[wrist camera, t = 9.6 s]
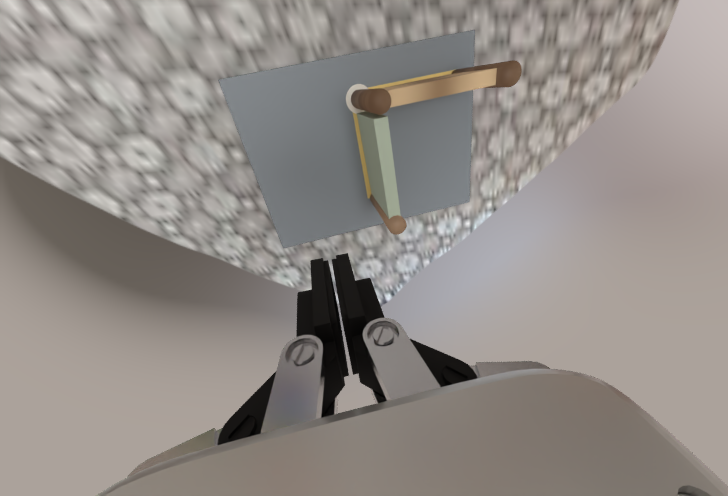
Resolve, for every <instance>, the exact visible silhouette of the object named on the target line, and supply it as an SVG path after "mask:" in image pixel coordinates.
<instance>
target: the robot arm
mask: <svg viewBox="0 0 728 496" xmlns="http://www.w3.org/2000/svg"><path fill="white" fill-rule="evenodd" d="M332 264H333V270H334V275H335V281H336V287H337V293H338V299H339V305H340V310H341V316H342V321H343V326H344V331H345V337H346V342H347V346H348V351H349V356H350V361H351V366H352V371H353V374H358V373H359V378H360V382H361V383H362V384H364V385H366V386H367V387H369V388H371V392H372V395H373V398H374V400H375V402H376V404H374V405H370V406H365V407H362V408H358V409H354V410H350V411H346V412H342V413H338V414H337V405H338V403H337V395H338V394H339V393H340V391H341V390H342V388H343V387H344V386H345V383H344V377H345V376H348V375H349V374H348V368H347V361H346V355H345V349H344V342H343V336H342V330H341V325H340V318H339V312H338V306H337V301H336V296H335V292H334V287H333V282H332V277H331V272H330V267H329V263H328V260H327V261H323V258H321V259H315V260H311V281H312V290H308V291H303V292H298V299H297V337H296V338H294V339H292V340H291V341H290V342H288V343H287V344H286V345H285V347H284V348H283V350H282V353H281V356H280V359H279V364H278V367H277V371H276V372H275V373H274V374H273V375H272V376H271V377H270V378H269V379H268V380H267V381H266V382H265V383H264V384H263V385H262V386H261V387H260V388H259V389H258V390H257V391H256V392H255V393H254V394H253V395H252V396H251V397H250V398H249V399H248V401H246V402H245V404H243V405H242V406H241V408H240V409H239V410H238V411H237V412H236V413H235V414H234V415H233V416H232V417H231V418H230V419H229V420H228V421H227V423H226V424H225V425H224V427H223V428H222V429H219V430H217V431H216V429H215V428H213V429H211V430H209V431H207V432H205V433H203V434H201V435H199V436H197V437H194V438H192V439H190V440H188V441H186V442H184V443H182V444H180V445H178V446H175V447H173V448H171V449H169V450H167V451H165V452H163V453H161V454H159V455H156V456H154V457H152V458H150V459H148V460H146V461H145V462H143V463H142V464H140V465H138V466H137V468H135V469H134V470H133V471H132V472H131V473H130V474H129V475H128V477H127V478H125V479H124V480H121V481H120V482H118V483H116V484H114V485H112V486H111V487H109V488H107V489H106V490H104V491H103V492H101V493H99V494H98V495H96V496H728V486H727V485H726V484H725V483H724V482H723V481H722V480H721V479H720V478H719V477H718V476H717V475H716V474H715V473H713V471H711V470H710V469H709V468H708V467H707V466H706V465H705V464H704V463H703V462H702V461H701V460H700V459H698V458H697V457H696V456H695V455H694V454H693V453H692V452H691V451H690V450H689V449H688V448H686V447H685V446H684V445H683V444H682V443H681V442H680V441H679V440H678V439H676V438H675V436H673V435H672V434H671V433H670V432H669V431H668V430H667V429H666V428H664V427H663V426H662V425H661V424H660V423H659V422H658V421H656V420H655V419H654V418H653V417H652V416H651V415H650V414H648V413H647V412H646V411H645V410H643V409H642V408H641V407H640V406H639V405H637V404H636V403H635V402H634V401H632V400H631V399H630V398H629V397H627V396H626V395H624V394H623V393H622V392H620V391H619V390H618V389H616V388H614V387H613V386H611V385H609V384H608V383H606V382H604V381H602V380H600V379H598V378H595V377H592V376H589V375H586V374H582V373H578V372H573V371H566V370H558V369H550V368H549V367H547V366H545V365H543V364H541V363H538V362H532V361H522V362H476V365H475V366H469V365H468V364H466V363H464V362H463V361H461V360H458V359H456V358H454V357H451V356H449V355H447V354H444V353H442V352H440V351H437V350H435V349H433V348H430V347H428V346H426V345H423V344H421V343H419V342H416V341H414V340H412V339H409V337H408V336H407V334H406V332H405V331H404V329H403V328H402V327H401V325H400V324H399V323H398V322H396V321H395V320H393V319H389V318H384V315H383V312H382V309H381V307H380V304H379V301H378V298H377V295H376V293H375V290H374V287H373V284H372V282H371V279H370V278H366V279H362V280H357V281H355V278H354V275H353V271H352V267H351V264H350V260H349V256H348V253H347V254H342V255H336V259H332Z"/></svg>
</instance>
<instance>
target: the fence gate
mask: <svg viewBox="0 0 728 496" xmlns="http://www.w3.org/2000/svg"><path fill="white" fill-rule="evenodd" d="M357 118H358V124H359V129H360V134H361V140H362V145H363V151H364V156H365V161H366V167H367V172H368V178H369V183H370V188H371V196H370V201H371V202H372V204H373V205H374V207H375V209H376V210H377V212H378V213H379V215H380V216H381V218H382V220H383V221H384V223H385V224H386V226H387V227H388V229H389V230H390V232H391V233H392V234H400V233H402V232H403V231H404V230H405V229H406V221H405V220H404V219H403V217H402V216H401V214H400V206H399V199H398V191H397V184H396V176H395V168H394V161H393V153H392V145H391V138H390V130H389V123H388V116H385V115H378V114H374V113H371V112H367V111H364V112H360V113H357Z"/></svg>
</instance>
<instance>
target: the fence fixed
mask: <svg viewBox="0 0 728 496" xmlns="http://www.w3.org/2000/svg"><path fill="white" fill-rule="evenodd" d="M520 76H521V65H520V63H519V62H517V61H508V62H501V63H494V64H488V65H481V66H475V67H468V68H462V69H456V70H454V71H453V72H452V73H451V74H447V75H442V76H438V77H433V78H428V79H423V80H418V81H414V82H409V83H404V84H399V85H394V86H389V87H385V88H377V89H360V90H355V91H354V92H353V93H352V95H351V103H352V105H353V106H354V107H355V108H357V109H360V110H364V111H367V112H371V113H374V114H378V115H382V114H384V113H386V112H387V111H388V110H389V108H391V107H395V106H400V105H405V104H409V103H414V102H419V101H423V100H428V99H433V98H437V97H442V96H447V95H451V94H456V93H461V92H465V91H470V90H475V89H479V88H493V87H511V86H513V85H515V84H516V83H517V82H518V80H519V78H520Z"/></svg>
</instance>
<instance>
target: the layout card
mask: <svg viewBox="0 0 728 496" xmlns="http://www.w3.org/2000/svg"><path fill="white" fill-rule="evenodd" d="M474 44H475V30H471V31H466V32H461V33H456V34H451V35H446V36H440V37H435V38H430V39H425V40H420V41H415V42H410V43H404V44H399V45H394V46H389V47H384V48H379V49H374V50H368V51H363V52H358V53H353V54H348V55H343V56H338V57H332V58H327V59H322V60H317V61H312V62H307V63H302V64H297V65H291V66H286V67H281V68H276V69H271V70H266V71H261V72H255V73H250V74H245V75H240V76H235V77H230V78H225V79H219V80H218V81H219V83H220V86H221V88H222V91H223V93H224V96H225V99H226V101H227V104H228V106H229V109H230V112H231V114H232V117H233V119H234V122H235V125H236V127H237V130H238V132H239V135H240V137H241V140H242V143H243V145H244V148H245V150H246V153H247V156H248V158H249V161H250V163H251V166H252V168H253V171H254V174H255V176H256V179H257V181H258V184H259V187H260V189H261V192H262V194H263V197H264V199H265V202H266V205H267V207H268V210H269V212H270V215H271V218H272V220H273V223H274V225H275V228H276V230H277V233H278V236H279V238H280V241H281V243H282V246H283V248H287V247H291V246H295V245H299V244H303V243H307V242H311V241H315V240H319V239H323V238H327V237H331V236H335V235H339V234H343V233H347V232H351V231H355V230H359V229H363V228H367V227H371V226H375V225H379V224H383V223H384V221H383V220H382V218H381V216H380V215H379V213H378V212H377V210H376V209H375V207H374V205H373V204H372V202H371V201H370V196H371V188H370V183H369V178H368V172H367V167H366V161H365V156H364V151H363V145H362V140H361V134H360V129H359V124H358V118H357V113H360V112H364V110H360V109H357V108H355V107H354V106H353V105H352V103H351V95H352V93H353V92H354V91H355V90H360V89H377V88H385V87H389V86H394V85H399V84H404V83H409V82H414V81H418V80H423V79H428V78H433V77H438V76H442V75H447V74H451V73H452V72H453V71H454V70H456V69H462V68H468V67H474ZM472 106H473V90H470V91H465V92H461V93H456V94H451V95H447V96H442V97H437V98H433V99H428V100H423V101H419V102H414V103H409V104H405V105H400V106H395V107H391V108H389V110H388V111H387V112H386V113H384V114H382V115H385V116H388V123H389V130H390V138H391V145H392V153H393V161H394V168H395V176H396V184H397V191H398V199H399V206H400V214H401V216H402V217H403V218H407V217H411V216H415V215H419V214H423V213H427V212H431V211H435V210H439V209H443V208H447V207H451V206H455V205H459V204H463V203H467V202H469V199H470V168H471V137H472Z"/></svg>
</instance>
